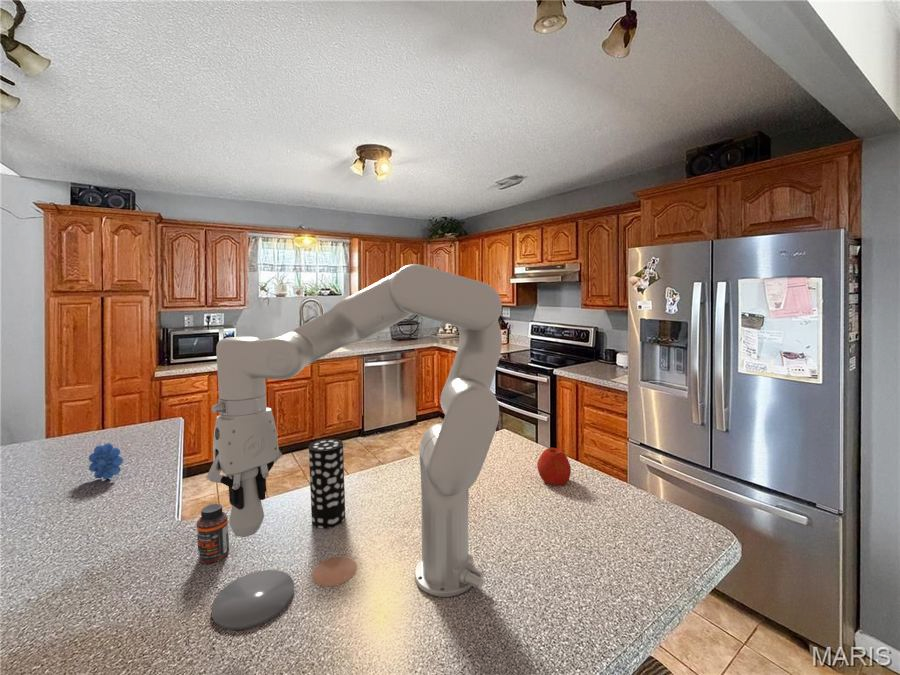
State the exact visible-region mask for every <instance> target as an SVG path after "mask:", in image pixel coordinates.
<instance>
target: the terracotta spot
mask: <svg viewBox="0 0 900 675" xmlns="http://www.w3.org/2000/svg"><path fill="white" fill-rule="evenodd" d="M357 566H358V565H357V563H356V561H355V560H354V559H352V558H350V557H347V556H334V557H333V556H332V557H330V558H327V559H324V560H322V561H320V562H319V563H318V564H317V565H315V567H314V568H313V569H312V572H311V578H312V580H313V582H314V583H316V584H317V585H319V586H323V587H335V586H338V585H341V584H344V583H346V582H348V581H349V580H351V579H352V578H353V577H354V575H355V574H356V572H357V568H358V567H357Z"/></svg>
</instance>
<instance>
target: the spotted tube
mask: <svg viewBox="0 0 900 675" xmlns="http://www.w3.org/2000/svg"><path fill="white" fill-rule="evenodd" d="M344 459H345V458H344V442H343V441H342V440H340V439H337V438H336V439H335V438H327V439H319V440H316V441H314V442H311V443H310V444H309V445H308V460H309V461H308V463H309V482H310V483H309V484H310V485H309V486H310V488H309V489H310V507H311V508H310V509H311V510H310V511H311V514H310V515H311V525H312V526H313V527H314V528H316V529H324V530H326V529H331V528H335V527H338V526H340V525H342V523H344V521H345V520H346V498H345V496H346V492H345V469H344V468H345V467H344V466H345V465H344V464H345V462H344Z"/></svg>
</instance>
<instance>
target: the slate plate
mask: <svg viewBox="0 0 900 675" xmlns="http://www.w3.org/2000/svg"><path fill="white" fill-rule="evenodd" d="M294 594H295V583H294V580H293V578H292V576H291V575H289V574H288V573H287V572H284V571H281V570H278V569H277V570H276V569H265V570H257V571H254V572H250V573H248V574H245V575H243V576H240V577H238V578H237V579H234V580H233V581H231V582H230V583H229V584H227V585H226V586H225V587H224V588H222V590H220V591H219V592H218V594H217V595H216V596H215V598H214V599H213V602H212V605H211V618H212V620H213V622H214V624H215V625H217V626H218V627H219V628H222V629H224V630H228V631H229V630H230V631H238V630H239V631H240V630H246V629H251V628H255V627H258V626H260V625H262V624H265V623H266V622H268V621H271V620H272V619H274V618H275V617H277V616H278V615H279V614H281V613H282V612H283V611H285V609H286V608H287V607H288V605H289V604H290V603H291V601H292V599H293V597H294Z"/></svg>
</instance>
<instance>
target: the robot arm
mask: <svg viewBox="0 0 900 675" xmlns="http://www.w3.org/2000/svg"><path fill="white" fill-rule="evenodd" d="M502 304H503V303H502V300H501V297H500V294H499V293H498V292H497V290H496V289H495V288H494V287H493V286H491V285H490V284H489V283H486V282H483V281H480V280H477V279H476V280H475V279H472V278H469V277H466V276H462V275H459V274H454V273H450V272H447V271H443V270H441V269H438V268H433V267H430V266H427V265H423V264H418V263H411V264H407V265H404V266H403V267H401V268H400V269H398V271H396V272H394V273H392V274H390V275H388V276H386V277H384V278H382V279H380V280H378V281H377V282H374V283H373V284H371V285H369V286H367V287H365V288H363V289H361V290H358V291H357V292H355V293H353V294H351V295H349V296H347V297H344V298H343V299H342V300H340V301H339V302H337V303H336V304H334V306H332V308H331V309H329V310H327V311H326V312H324V313H323V314H320V315H319V316H317V317H316V318H314V319H312V320H310V321H307V323H304V324H302V325H300V326H298V327H297V328H295V329H291V331H289V332H286V333H284V334H281V335H279V336H276V337H273V338H266V339H260V338H259V337H256V336H234V337H233V336H230V337H226V338H223V339H220V340H218V341H217V344H216V349H215V351H216V366H217V367H216V368H217V369H216V370H217V382H218V385H217V386H218V399H217V403H216V404H213V405H212V406H211V412H212V413H213V414H215V413H218V414H219V415H217V416H216V418H215V422H214V423H215V424H214V428H213V429H214V431H213V440H212V441H213V442H212V452H213V453H212V457H213V458H212V459H213V460H212V461H213V462H212V464H211V466H210V469H209V470H208V473H207V475H206V480H207V481H209V482H212V483H216V484H217V483H218V484H223V485H224V486H227V487H228V497H229V499H228V500H229V504H230V505H231V507H232V506H233V505H234V507H236V508H237V509H239V510H241V509H243V508H244V494H243V488H242V487H240V476H241V473H242V472H245V471H248V470H251V469H254V468H256V467H258V468H259V472H258V474H257V476H256V477H255V478H256V482H257V487H258V494H259V499H260V500H261V501H264V500H265V499H266V492H267V478H268V477H269V475H270V473H269V472H270V471H271V469H272V468H273V466H274V465H275V463H277V462H278V460H279V459H280V458H281V457H282V456H283V453H282V452H281V451H280V449H279V441H278V440H279V438H278V433H277V432H278V431H277V427H276V426H277V425H276V422H275V417H274V414H273V411H272V408H271V407H267V391H266V389H267V387H266V379H269V380H279V381H280V380H282V381H283V380H288V379H291V378H294V377H296V376H297V375H298V374H299V373H301V371H302V370H304V368H306V367H307V366H308V365H311V364H313V362H316V361H317V360H319V359H321V358H323V357H325V356H327V355H329V354H330V353H332V352H335V351H336V350H338V349H341V348H343V347H346V346H348V345H352V344H357V343H362V342H364V341H366V340H368V339H370V338H372V337H374V336H375V335H377V334H380V333H381V332H383V331H385V330H386V329H388V328H390V327H392V326H394V325H396V324H398V323H400V322H402V321H404V320H406V319H407V318H409V317H411V316H413V315H415V316H416V315H417V316H420V317H423V318H425V319H430V320H433V321H437V322H441V323H444V324H445V323H446V324H450V325H452V326H457V329H458V334H459V335H458V336H459V337H458V338H459V340H458V345H457V349H456V352H455V357H454V359H453V362H452V364H451V368H450V371H449V373H448V376H447V378H446V382H445V384H444V386H443V388H442V391H441V393H440V396H439V397H440V401H439V402H440V406H441V410H442V412H443V414H444V418H443V421H442V422H439V423H436V424H433V425H431V426H430V427H428V428H427V429H426V431H425V432H424V433H423V435H422V437H421V439H420V444H419V450H418V451H419V466H420V485H421V486H420V487H421V489H420V490H421V491H420V492H421V493H420V494H421V499H420V500H421V559H420V560H419V561H418V562H417V563H416V566H415V569H414V580H415V581H414V582H415V583H416V585H417V587H419V588H420V590H422V591H423V592H424V593H427V594H428V595H430V596H435V597H440V598H448V597H449V598H450V597H455V596H458V595H461V594H463V593H465V592H467V591H468V590H469V589H470V588H472V587H474V588H475V589H478V590H481V589H482V587H483V585H484V578H483V577H484V575H485V571H484V570H483V569H481V568H479V567H476V565H475V564H474V556H473V555H471V554H469V505H470V504H469V503H470V502H469V501H470V500H469V498H470V497H469V490H470V489H471V487H472V486H473V485H474V484H475V483H476V481H477V479H478V478H479V475H480V473H481V471H482V468H483V467H484V463H485V462H486V461H485V460H486V458H487V455H488V452H489V450H490V447H491V444H492V441H493V439H494V436H495V433H496V430H497V427H498V423H499V420H500V405H499V402H498V399H497V397H496V396H495V394H494V392H493V391H492V390H491V387H492V383H493V381H494V378H495V374H496V370H497V367H498V365H499V361H500V359H501V354H502V348H503V346H502V345H503V338H502V337H503V336H502V330H501V327H500V326H501V325H500V323H499V319H500V316H501V313H502V309H503V307H502V306H503V305H502ZM221 471H222V472H221ZM221 473H223V474H221Z"/></svg>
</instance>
